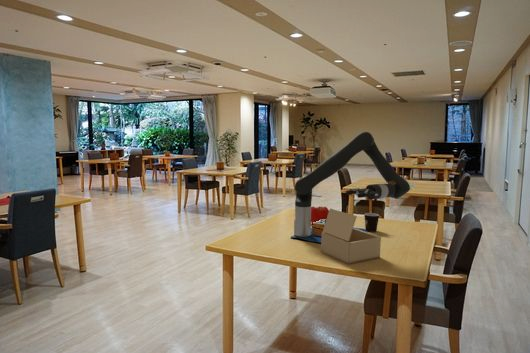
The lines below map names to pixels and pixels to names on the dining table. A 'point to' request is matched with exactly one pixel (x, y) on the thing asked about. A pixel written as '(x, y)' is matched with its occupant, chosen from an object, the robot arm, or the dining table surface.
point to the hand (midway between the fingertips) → (352, 194)
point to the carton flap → (339, 224)
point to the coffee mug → (371, 222)
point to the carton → (351, 246)
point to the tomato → (319, 213)
